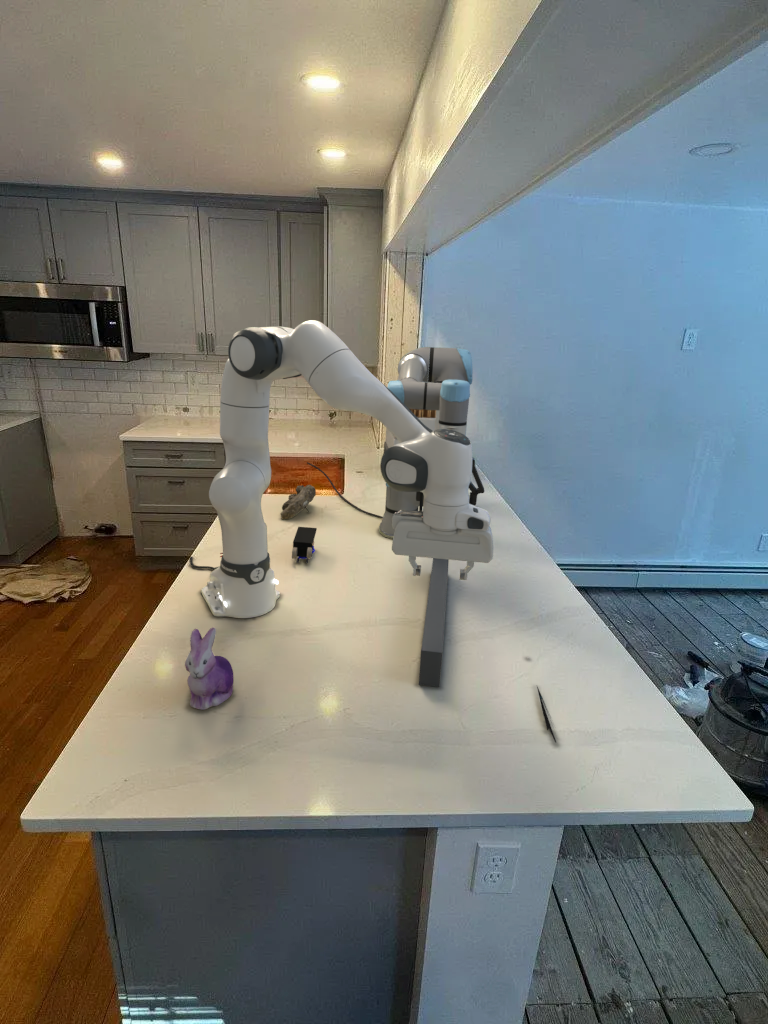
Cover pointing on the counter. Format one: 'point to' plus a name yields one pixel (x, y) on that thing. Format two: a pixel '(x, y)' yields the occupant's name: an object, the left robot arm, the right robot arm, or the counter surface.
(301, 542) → the figurine character
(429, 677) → the beam
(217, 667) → the figurine
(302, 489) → the fossil
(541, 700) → the feather
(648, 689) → the counter surface
